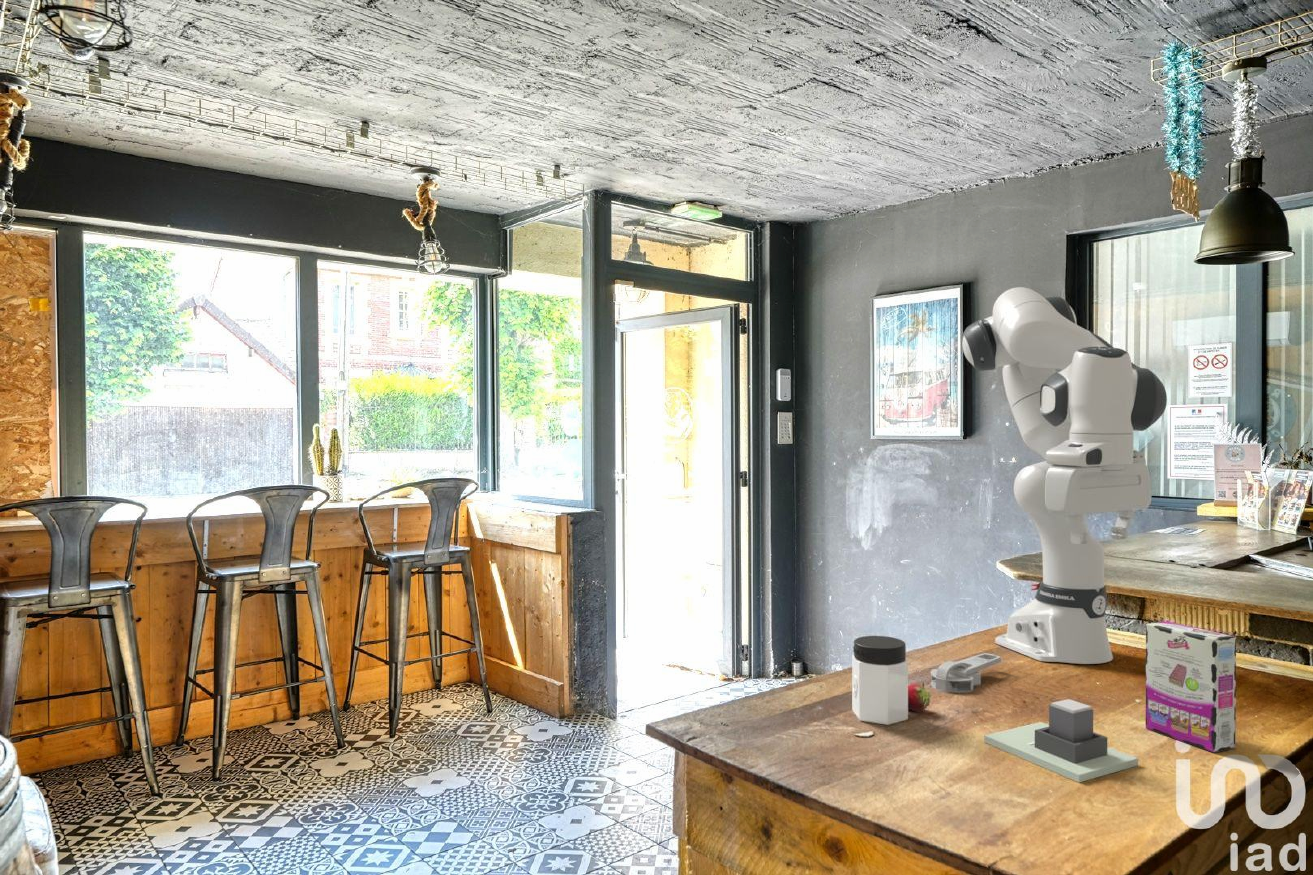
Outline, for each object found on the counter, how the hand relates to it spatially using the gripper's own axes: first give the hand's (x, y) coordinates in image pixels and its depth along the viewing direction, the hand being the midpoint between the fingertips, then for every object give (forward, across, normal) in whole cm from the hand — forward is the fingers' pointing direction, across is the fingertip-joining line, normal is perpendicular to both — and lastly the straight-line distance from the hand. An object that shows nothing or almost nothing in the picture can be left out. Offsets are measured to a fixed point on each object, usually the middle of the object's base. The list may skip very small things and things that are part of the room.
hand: (1099, 541), depth 136 cm
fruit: (+29, +20, -18) cm, 40 cm away
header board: (+29, +15, +5) cm, 33 cm away
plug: (+27, +15, +7) cm, 32 cm away
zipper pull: (+29, +1, -26) cm, 39 cm away
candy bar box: (+29, -7, +10) cm, 31 cm away
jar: (+29, +27, -19) cm, 44 cm away
